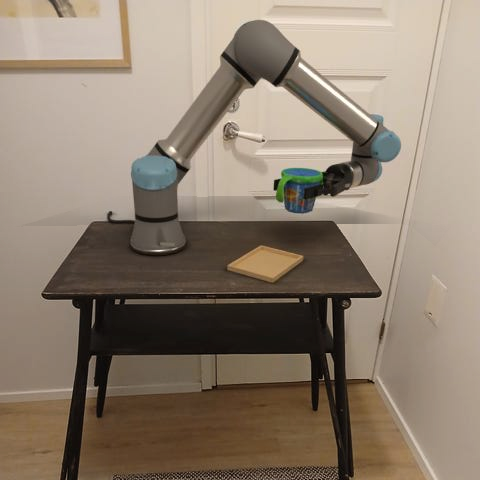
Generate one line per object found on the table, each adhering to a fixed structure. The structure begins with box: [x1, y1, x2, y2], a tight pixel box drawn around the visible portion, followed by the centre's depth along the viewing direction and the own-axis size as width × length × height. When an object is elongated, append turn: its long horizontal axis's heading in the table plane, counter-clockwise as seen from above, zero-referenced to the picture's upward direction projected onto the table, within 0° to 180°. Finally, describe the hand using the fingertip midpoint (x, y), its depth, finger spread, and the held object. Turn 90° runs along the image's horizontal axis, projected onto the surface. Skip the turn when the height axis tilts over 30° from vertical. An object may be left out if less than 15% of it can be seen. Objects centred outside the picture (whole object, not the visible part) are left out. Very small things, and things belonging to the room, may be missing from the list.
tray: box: [226, 245, 304, 284], centre depth 127 cm, size 13×17×1 cm
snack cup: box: [275, 167, 323, 215], centre depth 128 cm, size 16×10×10 cm
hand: (289, 189), depth 125 cm, fingers closed on snack cup, 10 cm apart
